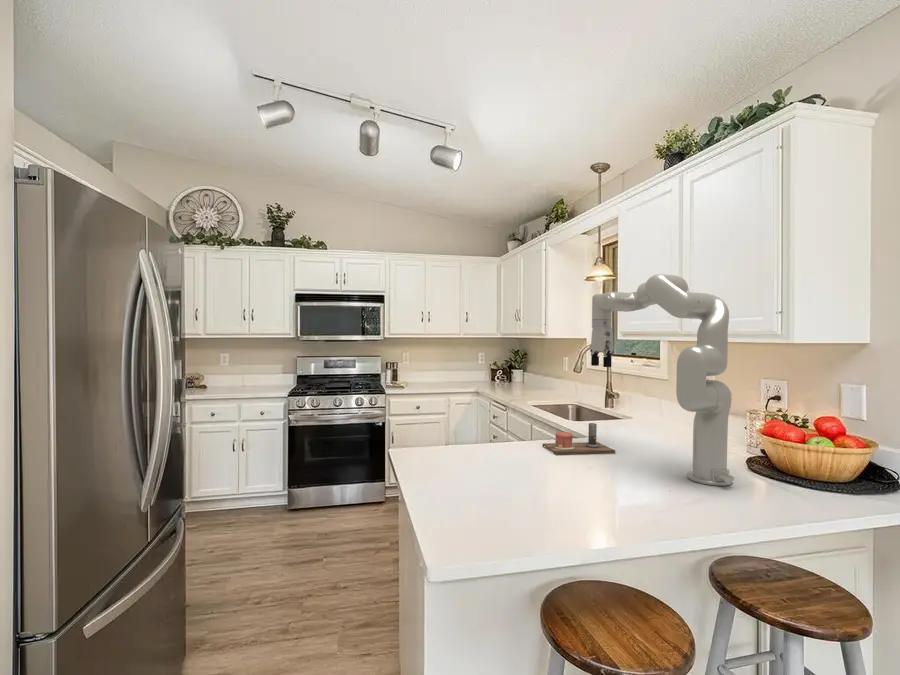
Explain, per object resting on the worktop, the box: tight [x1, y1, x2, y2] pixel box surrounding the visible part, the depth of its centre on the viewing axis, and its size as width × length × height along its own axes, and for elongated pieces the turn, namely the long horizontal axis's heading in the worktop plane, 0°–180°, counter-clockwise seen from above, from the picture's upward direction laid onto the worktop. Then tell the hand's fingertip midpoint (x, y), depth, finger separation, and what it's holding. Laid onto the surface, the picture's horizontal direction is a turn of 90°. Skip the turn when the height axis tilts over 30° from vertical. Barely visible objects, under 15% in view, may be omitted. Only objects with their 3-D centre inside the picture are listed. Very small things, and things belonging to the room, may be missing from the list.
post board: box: [542, 422, 616, 456], centre depth 183 cm, size 14×24×10 cm, turn 100°
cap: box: [554, 431, 573, 448], centre depth 182 cm, size 8×6×5 cm
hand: (601, 366), depth 190 cm, fingers open, 9 cm apart
